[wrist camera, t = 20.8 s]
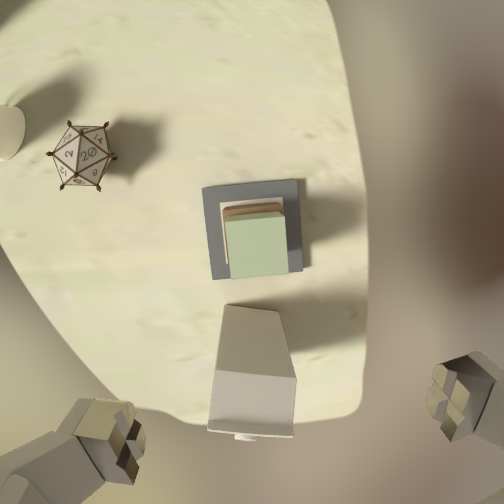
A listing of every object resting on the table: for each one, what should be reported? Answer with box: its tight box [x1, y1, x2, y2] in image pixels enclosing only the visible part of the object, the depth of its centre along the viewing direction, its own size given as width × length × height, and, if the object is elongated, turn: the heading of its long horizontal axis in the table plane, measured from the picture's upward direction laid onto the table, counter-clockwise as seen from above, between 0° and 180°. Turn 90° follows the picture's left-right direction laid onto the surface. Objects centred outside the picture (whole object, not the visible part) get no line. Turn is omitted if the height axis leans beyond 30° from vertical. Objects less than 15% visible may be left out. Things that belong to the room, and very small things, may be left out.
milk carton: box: [207, 305, 297, 441], centre depth 31 cm, size 7×7×19 cm
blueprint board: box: [202, 180, 303, 280], centre depth 37 cm, size 11×11×1 cm
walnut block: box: [222, 202, 283, 269], centre depth 34 cm, size 6×6×5 cm
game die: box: [46, 120, 117, 192], centre depth 31 cm, size 9×8×10 cm
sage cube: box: [225, 211, 289, 279], centre depth 29 cm, size 5×5×5 cm
